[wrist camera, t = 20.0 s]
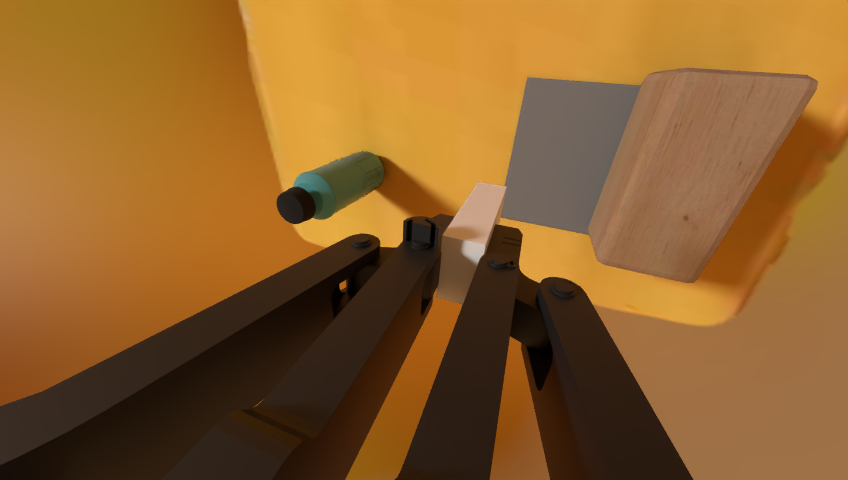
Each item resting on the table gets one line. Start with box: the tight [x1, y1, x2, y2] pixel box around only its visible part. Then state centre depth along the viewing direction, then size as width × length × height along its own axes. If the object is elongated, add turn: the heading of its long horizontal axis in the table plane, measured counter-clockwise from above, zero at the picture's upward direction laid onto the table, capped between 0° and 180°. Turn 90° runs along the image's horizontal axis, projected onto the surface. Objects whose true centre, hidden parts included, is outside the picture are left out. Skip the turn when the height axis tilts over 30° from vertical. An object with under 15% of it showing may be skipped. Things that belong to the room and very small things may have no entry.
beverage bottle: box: [277, 151, 384, 224], centre depth 42 cm, size 6×7×20 cm
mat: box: [501, 78, 641, 234], centre depth 39 cm, size 19×22×1 cm
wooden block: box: [588, 68, 818, 283], centre depth 33 cm, size 10×10×20 cm
